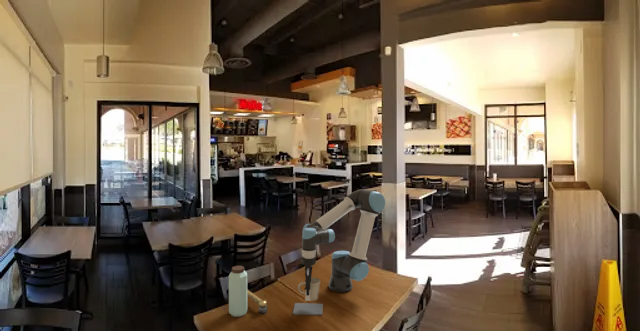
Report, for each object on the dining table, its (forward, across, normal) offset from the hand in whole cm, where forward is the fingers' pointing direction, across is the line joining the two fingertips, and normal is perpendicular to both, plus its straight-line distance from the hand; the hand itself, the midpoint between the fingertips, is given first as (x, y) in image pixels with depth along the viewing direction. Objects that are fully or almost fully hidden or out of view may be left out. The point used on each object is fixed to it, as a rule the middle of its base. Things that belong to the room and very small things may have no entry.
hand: (308, 297), depth 192 cm
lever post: (+7, +4, -24) cm, 26 cm away
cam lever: (+4, -4, -32) cm, 32 cm away
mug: (0, 0, 0) cm, 1 cm away
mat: (+7, 0, 0) cm, 7 cm away
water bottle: (+7, +6, -37) cm, 38 cm away
